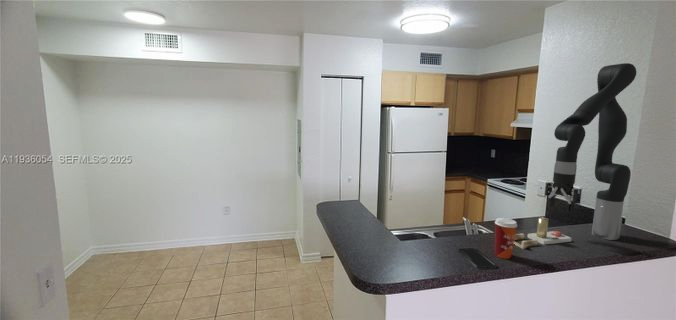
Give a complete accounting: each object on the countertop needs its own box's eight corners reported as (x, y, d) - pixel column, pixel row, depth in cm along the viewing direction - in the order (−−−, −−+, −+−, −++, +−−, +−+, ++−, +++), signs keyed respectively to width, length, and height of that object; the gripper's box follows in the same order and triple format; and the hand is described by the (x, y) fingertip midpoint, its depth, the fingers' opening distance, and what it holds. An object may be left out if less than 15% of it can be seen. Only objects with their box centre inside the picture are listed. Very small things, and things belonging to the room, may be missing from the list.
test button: (556, 238, 137) (557, 230, 136) (562, 240, 134) (563, 233, 134) (550, 238, 136) (551, 231, 136) (557, 241, 133) (558, 233, 133)
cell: (541, 234, 135) (543, 216, 134) (548, 237, 132) (550, 218, 130) (534, 235, 134) (536, 216, 133) (541, 238, 131) (543, 219, 129)
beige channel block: (522, 240, 135) (522, 233, 135) (537, 247, 128) (537, 240, 128) (508, 241, 134) (509, 234, 133) (523, 248, 126) (523, 241, 126)
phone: (476, 248, 125) (498, 266, 110) (475, 250, 125) (498, 269, 110) (457, 248, 124) (477, 266, 109) (457, 251, 124) (476, 269, 110)
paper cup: (505, 261, 115) (509, 225, 113) (487, 253, 122) (490, 219, 120) (519, 257, 119) (522, 222, 117) (500, 249, 125) (503, 216, 123)
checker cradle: (553, 236, 140) (554, 230, 139) (570, 243, 132) (571, 237, 132) (527, 239, 136) (527, 233, 136) (543, 246, 129) (544, 240, 128)
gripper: (588, 174, 125) (583, 214, 127) (556, 168, 139) (552, 204, 141) (574, 175, 123) (569, 215, 125) (542, 169, 137) (538, 205, 139)
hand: (560, 209), depth 133 cm, fingers open, 8 cm apart
